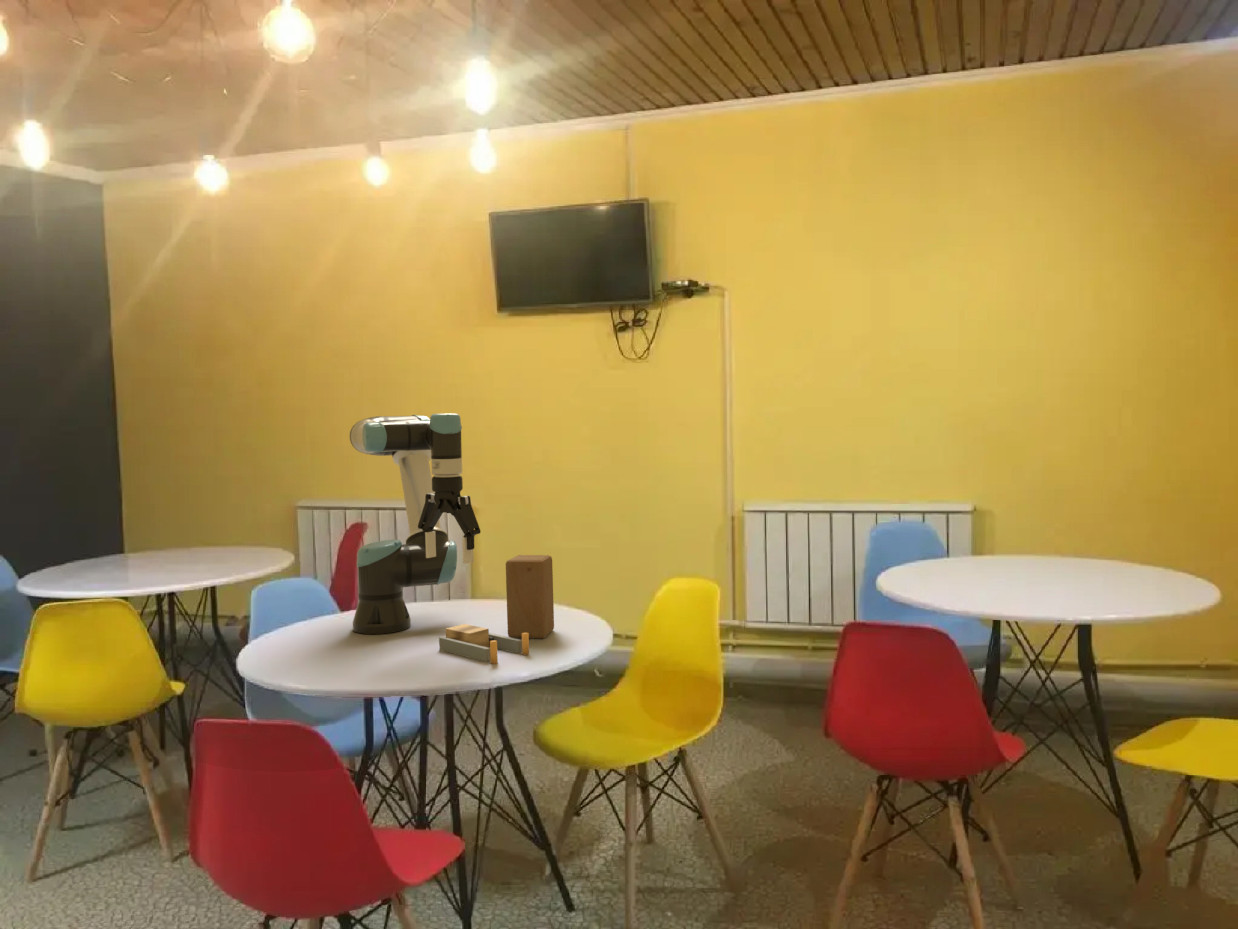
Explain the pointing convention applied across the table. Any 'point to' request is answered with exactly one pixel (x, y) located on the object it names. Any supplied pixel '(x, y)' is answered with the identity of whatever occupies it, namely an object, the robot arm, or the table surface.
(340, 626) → the table surface
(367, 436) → the robot arm
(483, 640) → the oak block
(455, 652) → the chute
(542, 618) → the wooden block
